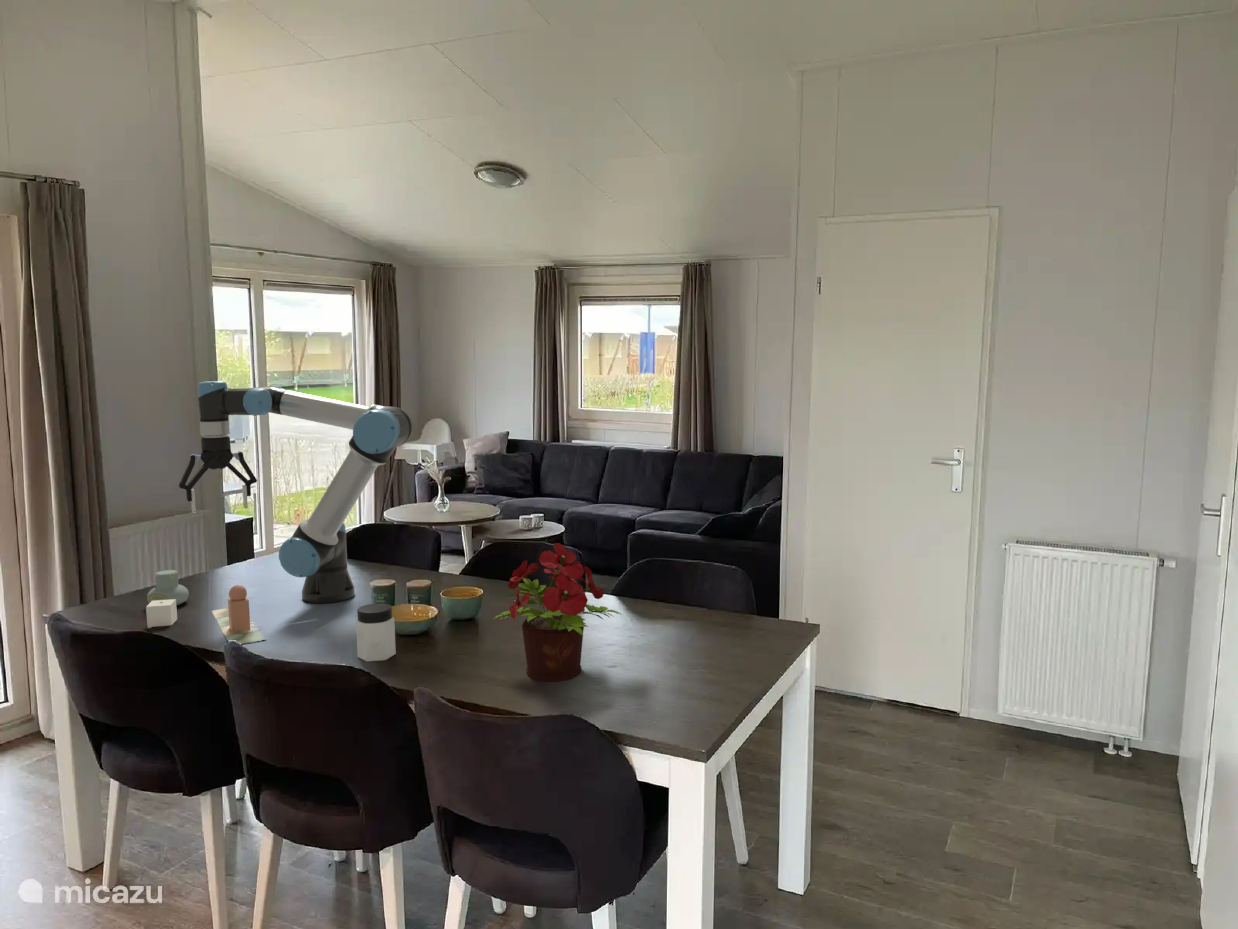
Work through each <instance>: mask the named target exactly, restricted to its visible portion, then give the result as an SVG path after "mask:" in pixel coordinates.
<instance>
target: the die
mask: <svg viewBox="0 0 1238 929" xmlns="http://www.w3.org/2000/svg"><path fill="white" fill-rule="evenodd" d="M177 610H178V609H177V606H176V599H170V600H155V601H151V602H150V603H149V602H148V604H147V605H146V607H145V613H146V624H147V629H152V627H153V628H154V627H165V626H167V627H168V626H173V625H174V623H175V622H176V621H177V620H178V611H177Z"/></svg>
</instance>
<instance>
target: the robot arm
mask: <svg viewBox="0 0 1238 929" xmlns="http://www.w3.org/2000/svg"><path fill="white" fill-rule="evenodd" d="M197 400H198V409H199V410H198V411H199V426H200V427H199V428H200V436H202V437H201V438H200V444H201V445H200V446H201V448H200V449H201V454H193V453H192V454H190V455H189V458H188V460H189V461H188V464H187V466H186V468H185V470H184V473H183V475H182V476H181V479H180V481H179V483H178V488H180V489H182V490H185V493H186V500H187V502H191V513H192V514H196V513H197V508H196V506H197V505H196V495H195V494H196V492H195V489H194V486H195V485H196V484H197V483H198V481H199V480H200V479H201V478H202V477H203V475H204V474H205V473H206V472H208V470H209V469H210V470H217V469H219V470H220V469H221V470H223V469H225V468H227V469H229V470H230V471H231V472H232V473H233V474H234V475H235V476H236V477H237V478H239V480H240V481H241V482H243V483H244V484H242V485H241V487H242V488H241V490H242V503H243V509H249V505H248V497H251V496H252V490H251V486H252V484H256V483H257V482H258V480H257V477H256V476H255V475H254V473H253V471H252V469H251V468H250V467H249V465H248V463H247V461H246V460H245V456H244V453H243V452H242V451H241V450H238V451H237V452H232V448H231V436H229V435H230V433H231V432H230V422H229V420H230V419H229V417H230V416H254V417H256V416H265V415H267V414H269V413H270V414H274V415H275V414H276V415H281V416H286V417H292V418H295V419H296V418H297V419H299V420H300V419H301V420H304V421H305V420H306V421H309V422H316V423H318V424H325V425H330V426H334V427H338V428H339V427H340V428H343V429H349V430H352V437H351V438H350V440H349V441H348V446H349V449H350V450H349V451H348V454H347V455H346V458H344V461H343V462H342V463H341V465H340V468H339V469H338V471H337V472H336V474H335V475H334V477H333V478H332V480H331V482H330V483H329V484H328V487H327V489H326V491H324V493H323V496H321V499H319V502H318V503H317V505H316V507H315V508H314V510H313V512H312V513H311V516H310V517H309V518H308V519H304V520H302V521H301V522H300V523H299V525H298V526H297V528H296V529H295V531H294V533H293V534H292V536H290V538H287V539H286V540H284V542H283V543H282V544H281V545H280V548H279V551H278V560H279V563H280V565H281V567H282V569H283V570H284V571H285V572H286V573H287V574H289V575H291V576H293V577H295V578H305V580H304V581H303V582H304V583H303V586H302V590H301V599H302V600H303V601H304V602H307V603H313V604H328V603H337V602H342V601H346V600H349V599H351V598H353V597H354V596H355V594H356V593H355V586H354V582H353V580H352V578H351V576H350V573H349V570H348V552H347V549H348V546H347V530H346V525H345V523H344V522H345V521H346V519H347V517H348V516H349V514H350V512H351V511H352V510H353V508H354V506H355V504H356V503H357V501H358V500H359V498H360V496H361V495H362V493H363V491H364V490H365V488H366V487H367V484H368V483H369V481H370V480H371V478H372V477H373V475H374V473H375V472H376V470H377V468H378V467H379V466H382V465H386V464H387V462H388V461H389V459H390V457H392V455H393V453H394V451H395V450H396V448H397V447H401V446H402V445H405V443H407V442H408V441H409V440H410V438H411V436H412V434H413V430H414V429H413V425H414V424H413V421H412V418H411V417H410V415H409V414H408V413H407V412H406V411H405V410H403V409H402V408H400V407H396V406H387V405H380V404H375V403H374V404H371V405H370V406H369V405H367V406H366V405H362V404H357V403H353V402H346V401H343V400H338V399H331V398H329V397H328V398H327V397H322V396H319V395H314V394H308V393H303V392H300V391H299V392H298V391H294V390H289V389H284V388H282V387H281V386H278V385H267V386H266V385H265V386H257V387H245V388H244V387H243V388H242V387H241V388H231V387H228V384H227V382H226V381H224V380H223V381H222V380H219V381H218V380H217V381H216V380H212V381H211V380H210V381H209V380H207V381H201V382H199V383H198V384H197ZM233 458H235V460H238V462H239V463H240V465H241V466H242V468H243V470H244V471H245V473H246V475H247V476H248V477H249V479H247V478H246V476H244V475H243V474H242V473H241V472H240V470H238V469H237V468H236V467H235V466H234V465H233V464H231V463H230V462H231V461H232V459H233ZM199 460H201V462H202V463H203V464H202V465H201V467H200V468H199V469H198V470H197V472H196V474H194V476H193V477H191V480H190V481H188V480H189V478H190V475H191V473H192V471H193V469H194V467H195V464H196V463H198V462H199ZM187 481H188V483H187Z"/></svg>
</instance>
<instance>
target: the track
mask: <svg viewBox="0 0 1238 929" xmlns="http://www.w3.org/2000/svg"><path fill="white" fill-rule="evenodd" d="M211 613H212V615H213V616H214V618H215V620H216V622H217V624H218V626H219V627H220V629H221V631H222V634H223V636H224V635H225V636H224V637H226V638H225V639H226V641H227V640H236V641H237V642H239V643H242V645H247V644H253V643H258V642H257V641H259V640H266V641H267V639H266V637H265V636H264V634H263V633H262V632H261V630H260V629H259V627H258V629H257V628H255V629H254V628H250V630H243V631H237V632H232V631H231V629H230V625H229V609H228V608H221V609H213V610H211ZM250 619H252V620H253V618H252V617H251V618H250ZM250 623H255V621H254V620H253V621H250ZM250 626H257V624H256V625H254V624H250ZM251 630H253V631H254V630H256V631H255V632H253V631H251ZM257 630H260V631H257ZM254 633H262V634H261V635H260V634H254ZM261 637H265V638H261Z"/></svg>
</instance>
